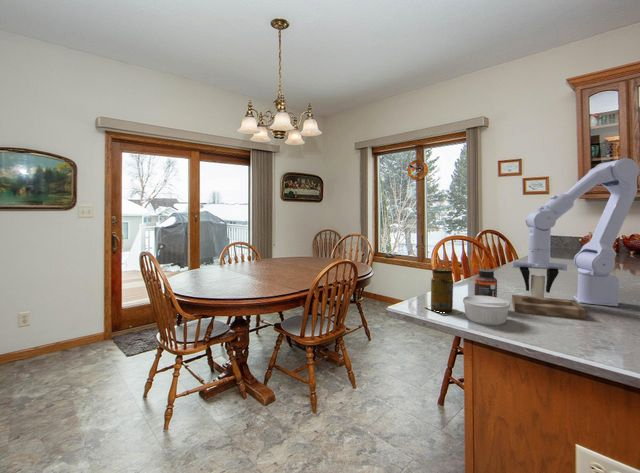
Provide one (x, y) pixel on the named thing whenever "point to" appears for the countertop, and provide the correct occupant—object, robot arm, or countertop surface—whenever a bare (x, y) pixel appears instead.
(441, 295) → the condiment
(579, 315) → the keyhole board
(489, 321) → the ramekin
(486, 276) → the supplement bottle
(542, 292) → the cream peg
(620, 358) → the countertop surface
